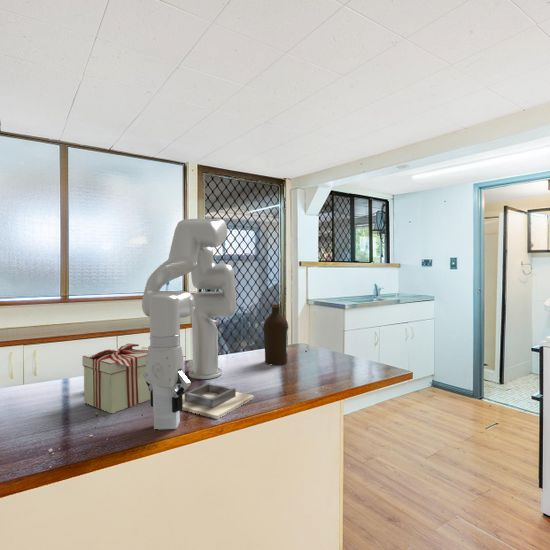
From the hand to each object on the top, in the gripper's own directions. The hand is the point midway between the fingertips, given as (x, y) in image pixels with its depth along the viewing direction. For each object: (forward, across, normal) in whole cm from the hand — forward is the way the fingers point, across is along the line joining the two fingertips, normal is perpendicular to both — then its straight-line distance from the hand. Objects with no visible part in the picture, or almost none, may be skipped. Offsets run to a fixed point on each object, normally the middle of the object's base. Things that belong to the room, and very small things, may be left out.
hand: (166, 407), depth 101 cm
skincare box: (+5, 0, 0) cm, 5 cm away
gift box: (+5, -25, +6) cm, 26 cm away
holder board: (+5, -1, +19) cm, 20 cm away
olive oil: (+5, -6, +68) cm, 68 cm away
